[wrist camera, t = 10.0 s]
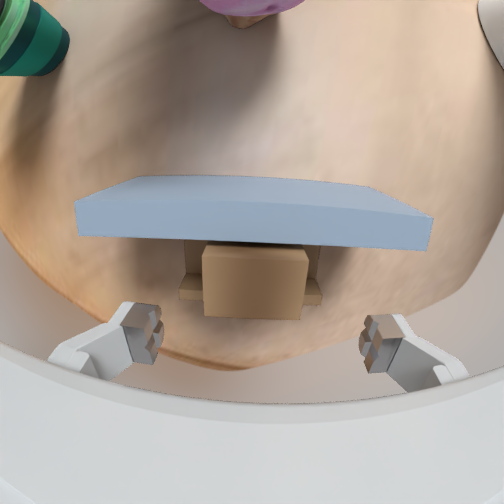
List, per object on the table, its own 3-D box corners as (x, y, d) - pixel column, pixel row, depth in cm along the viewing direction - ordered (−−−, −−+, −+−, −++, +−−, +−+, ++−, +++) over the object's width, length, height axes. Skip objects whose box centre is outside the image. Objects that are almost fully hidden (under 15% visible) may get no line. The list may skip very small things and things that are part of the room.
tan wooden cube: (290, 220, 19) (308, 260, 13) (285, 270, 21) (298, 327, 14) (219, 216, 19) (201, 256, 13) (219, 267, 21) (204, 323, 14)
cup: (46, 22, 14) (-23, 1, 3) (98, 12, 15) (27, -30, 4) (24, 86, 17) (-54, 84, 6) (73, 82, 18) (-17, 68, 7)
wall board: (369, 187, 22) (433, 218, 13) (355, 267, 25) (399, 331, 16) (139, 176, 22) (74, 201, 13) (145, 258, 25) (97, 319, 16)
